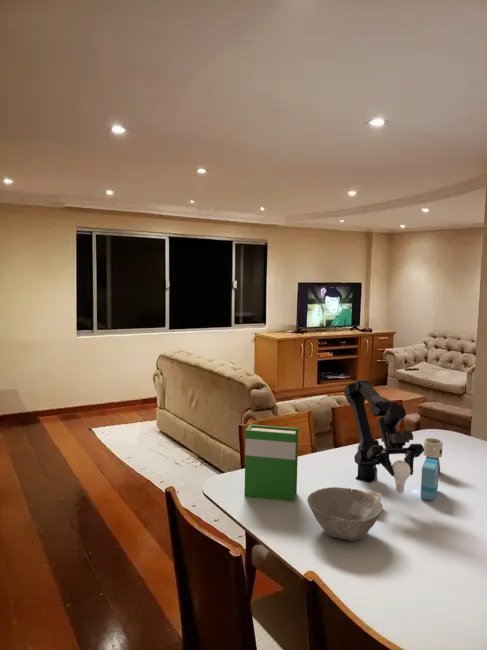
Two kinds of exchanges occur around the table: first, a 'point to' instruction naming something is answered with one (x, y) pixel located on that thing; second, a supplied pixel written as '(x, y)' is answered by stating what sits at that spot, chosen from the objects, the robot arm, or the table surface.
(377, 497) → the kraft carton
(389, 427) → the robot arm
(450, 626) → the table surface
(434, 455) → the character mug
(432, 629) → the table surface
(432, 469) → the data package
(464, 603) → the table surface
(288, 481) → the hardback book
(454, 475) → the table surface
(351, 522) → the ceramic bowl
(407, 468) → the lightbulb
